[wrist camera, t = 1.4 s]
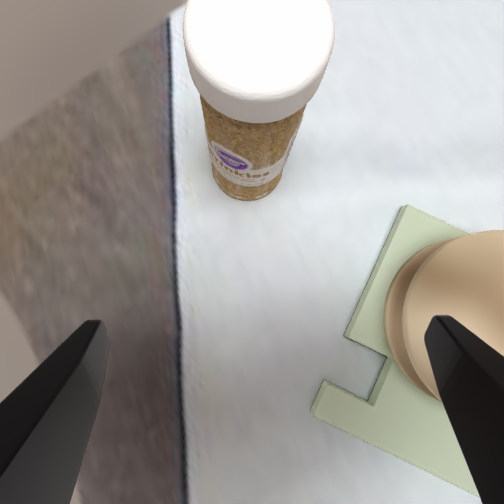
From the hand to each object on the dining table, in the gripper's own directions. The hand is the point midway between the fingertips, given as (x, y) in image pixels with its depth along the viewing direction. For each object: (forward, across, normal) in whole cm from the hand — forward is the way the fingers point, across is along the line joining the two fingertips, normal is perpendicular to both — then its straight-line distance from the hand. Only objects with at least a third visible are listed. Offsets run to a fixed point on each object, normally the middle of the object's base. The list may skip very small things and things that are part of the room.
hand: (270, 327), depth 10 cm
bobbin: (+8, -13, +9) cm, 18 cm away
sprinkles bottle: (+16, 0, +3) cm, 16 cm away
